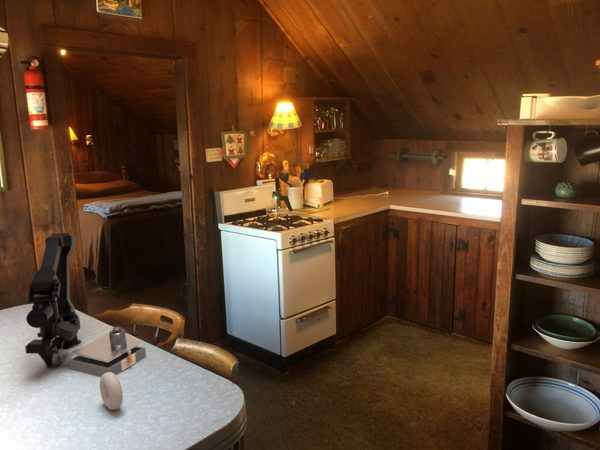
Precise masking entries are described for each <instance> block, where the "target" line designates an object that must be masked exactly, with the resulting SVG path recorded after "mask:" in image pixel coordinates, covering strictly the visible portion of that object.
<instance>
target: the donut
mask: <svg viewBox="0 0 600 450" xmlns="http://www.w3.org/2000/svg"><path fill="white" fill-rule="evenodd" d="M99 379H100V380H99V391H100V396H101V398H102V402H103V403H104V405H105V406H106V408H107V409H109V410H111V411H112V410H113V411H114V410H118V409H119V408H120V407H121V406H122V404H123V399H124V395H123V387H122V384H121V381H120V380H119V378H118V376H117V374H116V375H115V374H114V373H112V372H107V373H104V374H103V375H102V377H101V376H100V378H99Z"/></svg>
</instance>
